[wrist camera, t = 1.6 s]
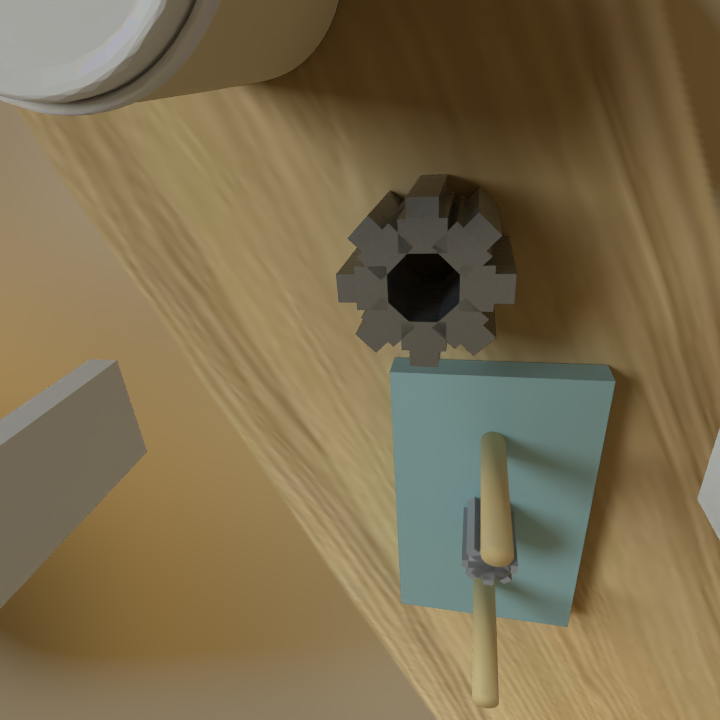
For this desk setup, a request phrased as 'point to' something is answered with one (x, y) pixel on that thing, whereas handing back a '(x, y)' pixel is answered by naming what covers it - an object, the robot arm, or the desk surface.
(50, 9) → the coffee cup
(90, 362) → the robot arm
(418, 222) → the gear
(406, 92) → the desk surface
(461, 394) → the carrier
